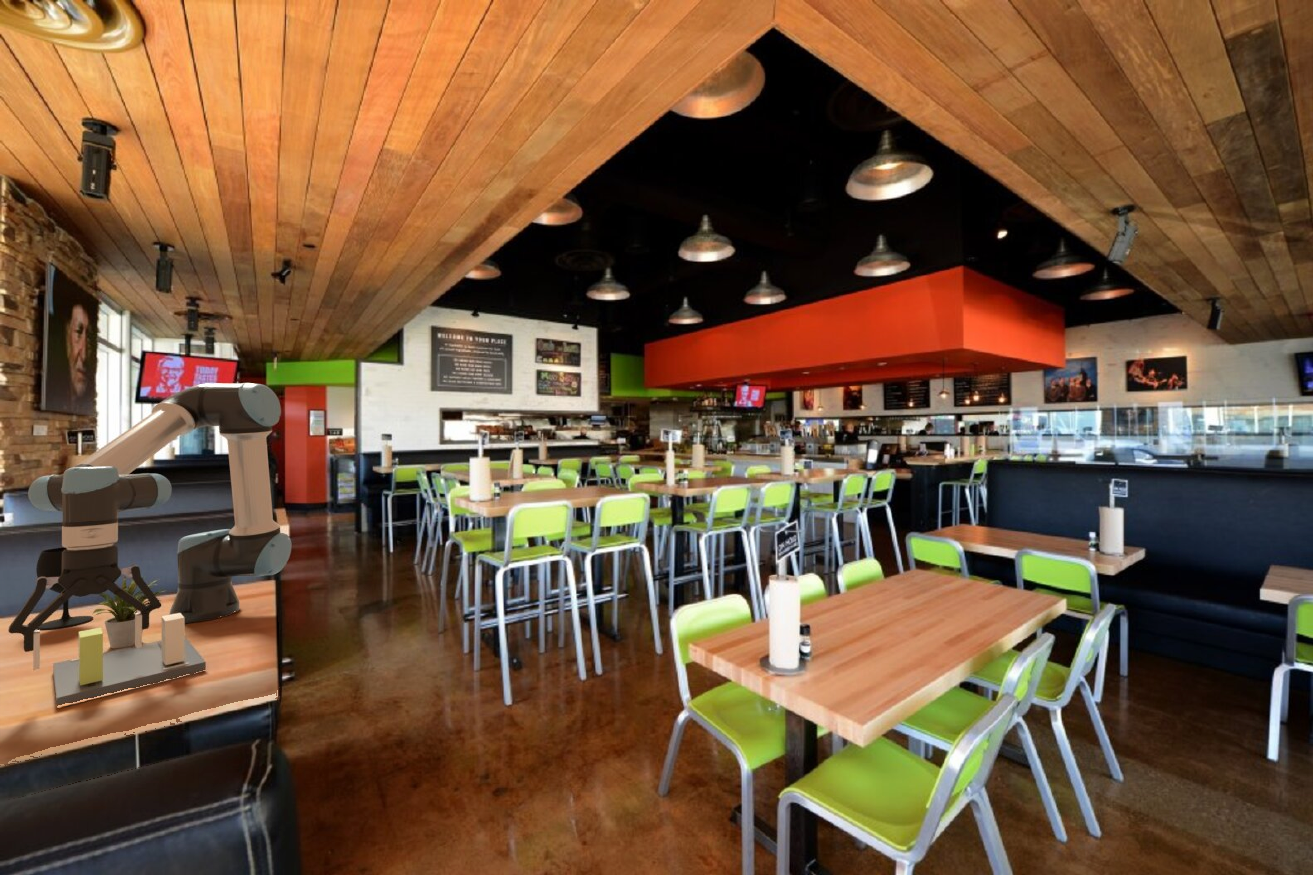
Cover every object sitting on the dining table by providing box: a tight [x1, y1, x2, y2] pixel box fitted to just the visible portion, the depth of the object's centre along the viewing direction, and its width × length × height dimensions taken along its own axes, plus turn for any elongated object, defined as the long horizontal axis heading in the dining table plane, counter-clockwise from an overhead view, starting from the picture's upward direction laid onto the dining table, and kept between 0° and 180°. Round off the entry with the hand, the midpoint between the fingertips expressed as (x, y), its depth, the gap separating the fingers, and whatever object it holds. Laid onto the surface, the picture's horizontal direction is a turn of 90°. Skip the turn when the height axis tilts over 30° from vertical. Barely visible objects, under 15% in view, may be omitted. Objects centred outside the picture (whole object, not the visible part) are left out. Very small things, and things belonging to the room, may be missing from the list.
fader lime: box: [78, 627, 104, 685], centre depth 105 cm, size 3×5×9 cm, turn 49°
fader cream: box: [161, 613, 186, 665], centre depth 114 cm, size 3×5×9 cm, turn 49°
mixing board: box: [52, 636, 207, 707], centre depth 114 cm, size 21×24×2 cm
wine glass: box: [35, 546, 94, 631], centre depth 146 cm, size 10×10×20 cm
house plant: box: [92, 575, 169, 649], centre depth 129 cm, size 14×14×16 cm
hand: (89, 656), depth 105 cm, fingers open, 13 cm apart
